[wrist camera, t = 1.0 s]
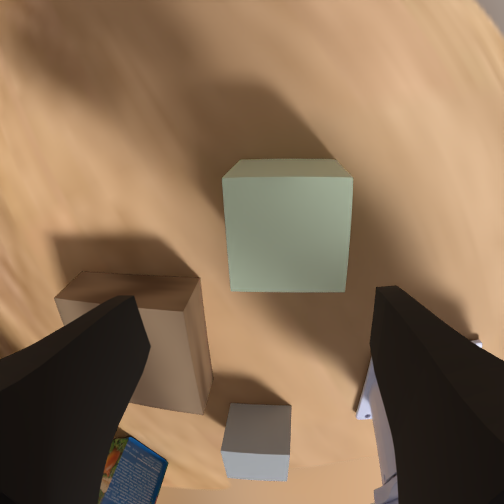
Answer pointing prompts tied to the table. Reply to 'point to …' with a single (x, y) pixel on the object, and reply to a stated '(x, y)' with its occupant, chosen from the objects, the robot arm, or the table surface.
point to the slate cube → (257, 442)
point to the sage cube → (287, 225)
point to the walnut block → (156, 333)
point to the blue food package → (131, 474)
